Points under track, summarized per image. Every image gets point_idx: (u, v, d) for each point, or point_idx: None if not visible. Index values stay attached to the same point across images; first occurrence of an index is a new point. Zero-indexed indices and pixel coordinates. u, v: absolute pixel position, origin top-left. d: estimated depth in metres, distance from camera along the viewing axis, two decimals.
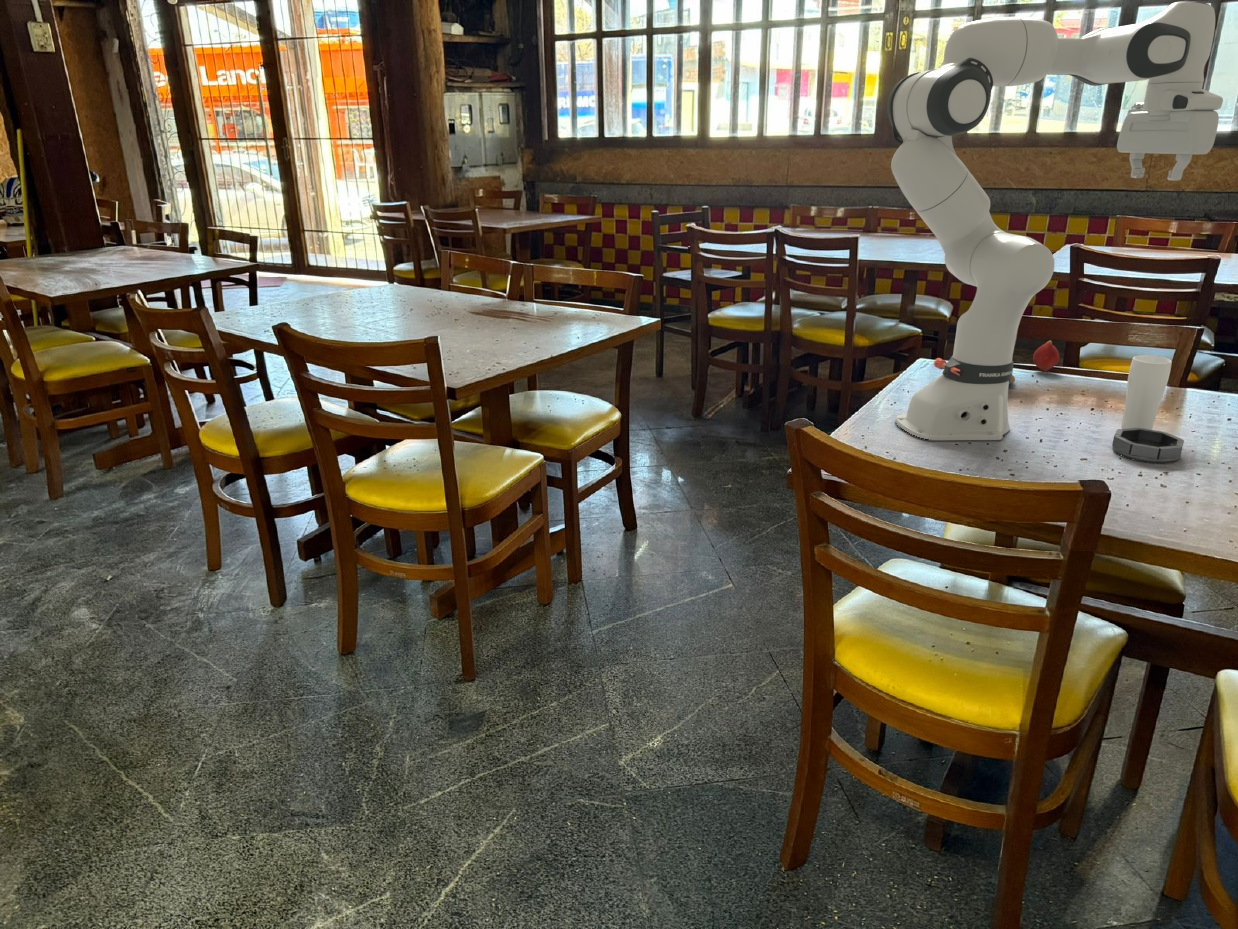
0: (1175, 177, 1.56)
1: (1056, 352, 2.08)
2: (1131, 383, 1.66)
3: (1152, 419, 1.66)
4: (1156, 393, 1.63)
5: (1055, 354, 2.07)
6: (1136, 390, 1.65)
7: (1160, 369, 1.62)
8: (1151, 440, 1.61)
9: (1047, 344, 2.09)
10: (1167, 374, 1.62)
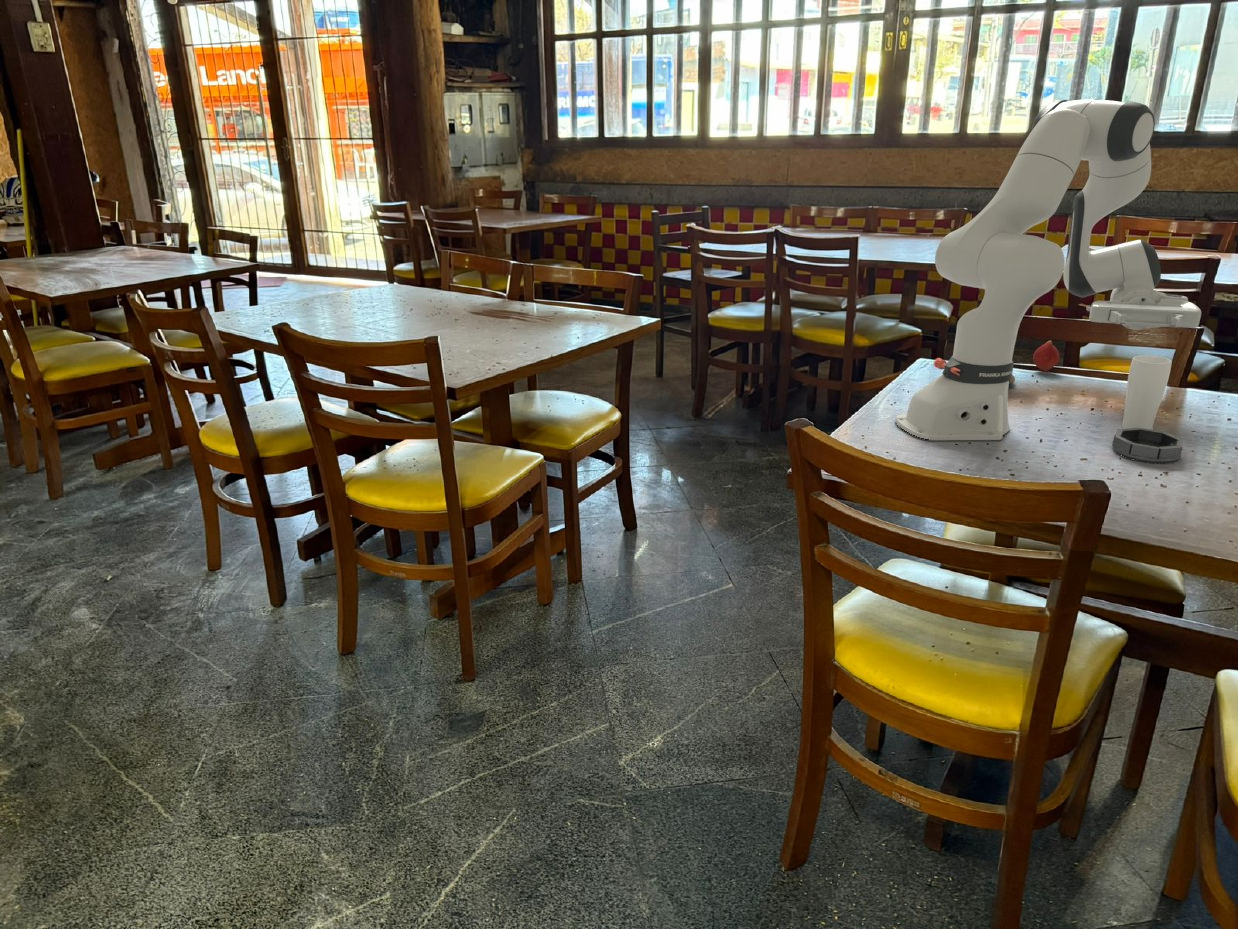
0: None
1: (1056, 352, 2.08)
2: (1131, 383, 1.66)
3: (1152, 419, 1.66)
4: (1156, 393, 1.63)
5: (1055, 354, 2.07)
6: (1136, 390, 1.65)
7: (1160, 369, 1.61)
8: (1151, 440, 1.61)
9: (1047, 344, 2.09)
10: (1167, 374, 1.62)
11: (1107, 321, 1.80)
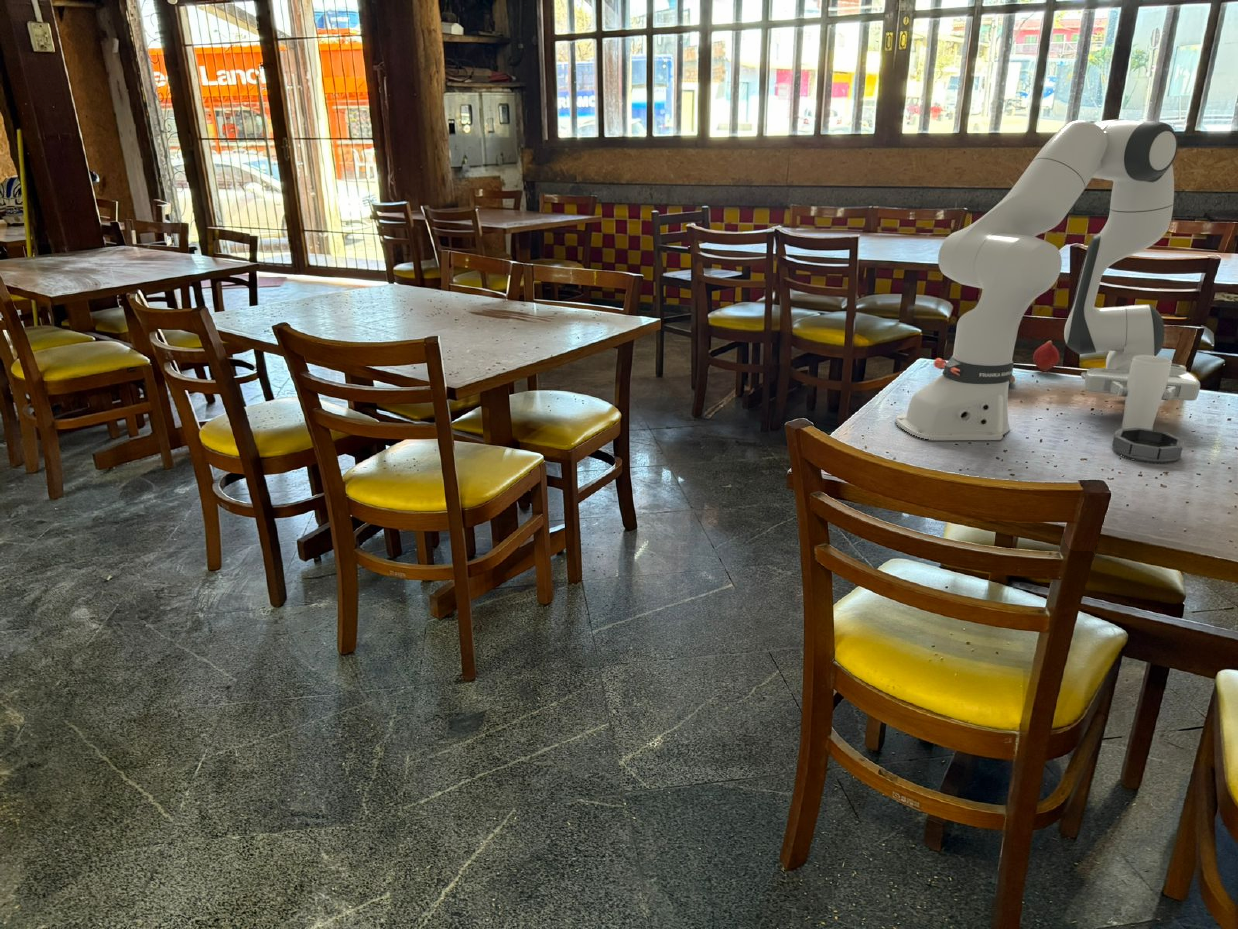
0: None
1: (1056, 352, 2.08)
2: (1131, 383, 1.66)
3: (1152, 419, 1.66)
4: (1156, 393, 1.63)
5: (1055, 354, 2.07)
6: (1136, 390, 1.65)
7: (1160, 369, 1.61)
8: (1151, 440, 1.61)
9: (1047, 344, 2.09)
10: (1167, 374, 1.62)
11: (1102, 391, 1.73)
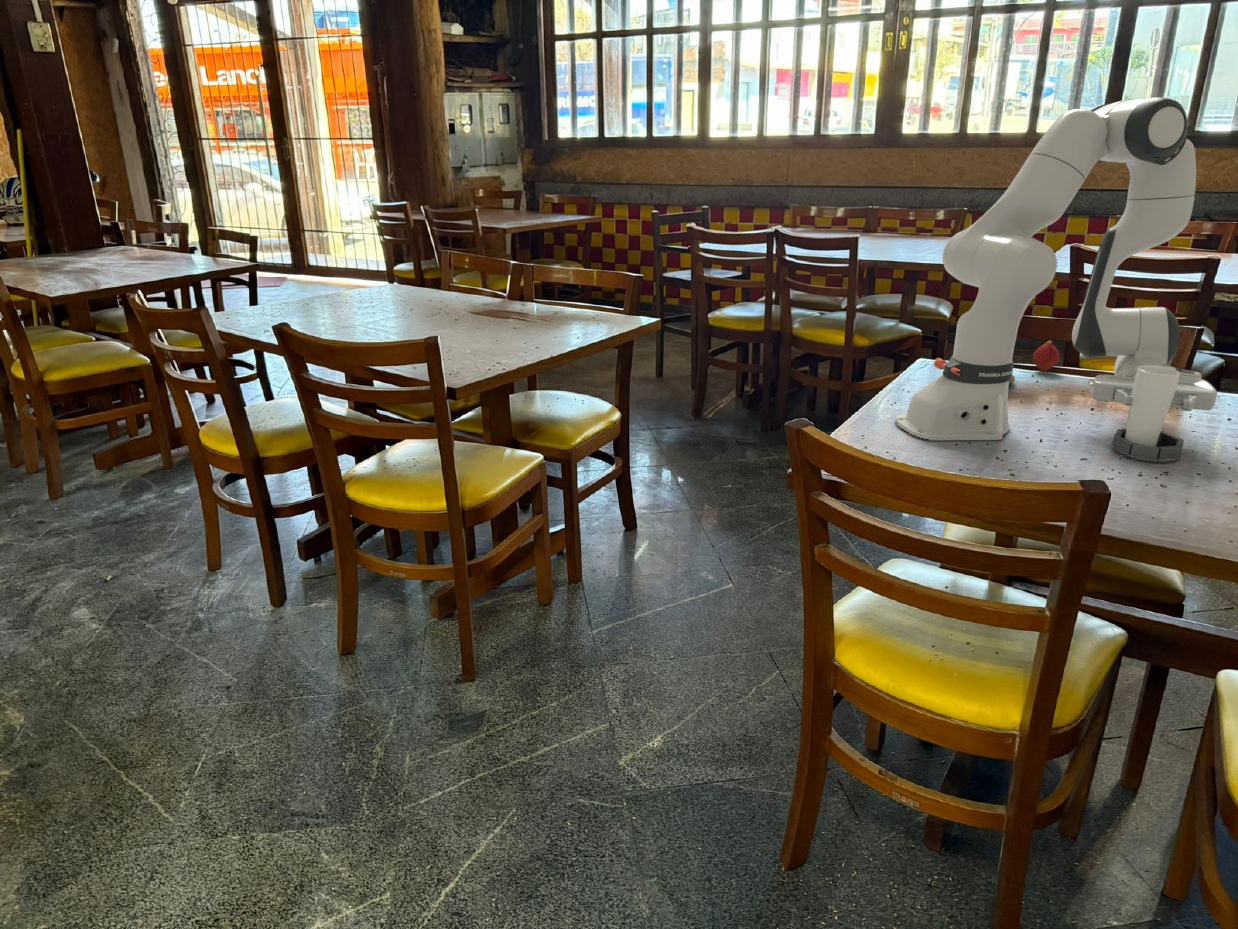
0: None
1: (1056, 352, 2.08)
2: (1136, 395, 1.55)
3: (1157, 434, 1.55)
4: (1162, 406, 1.52)
5: (1055, 354, 2.07)
6: (1140, 403, 1.54)
7: (1167, 381, 1.50)
8: None
9: (1047, 344, 2.09)
10: (1174, 386, 1.51)
11: (1111, 400, 1.61)
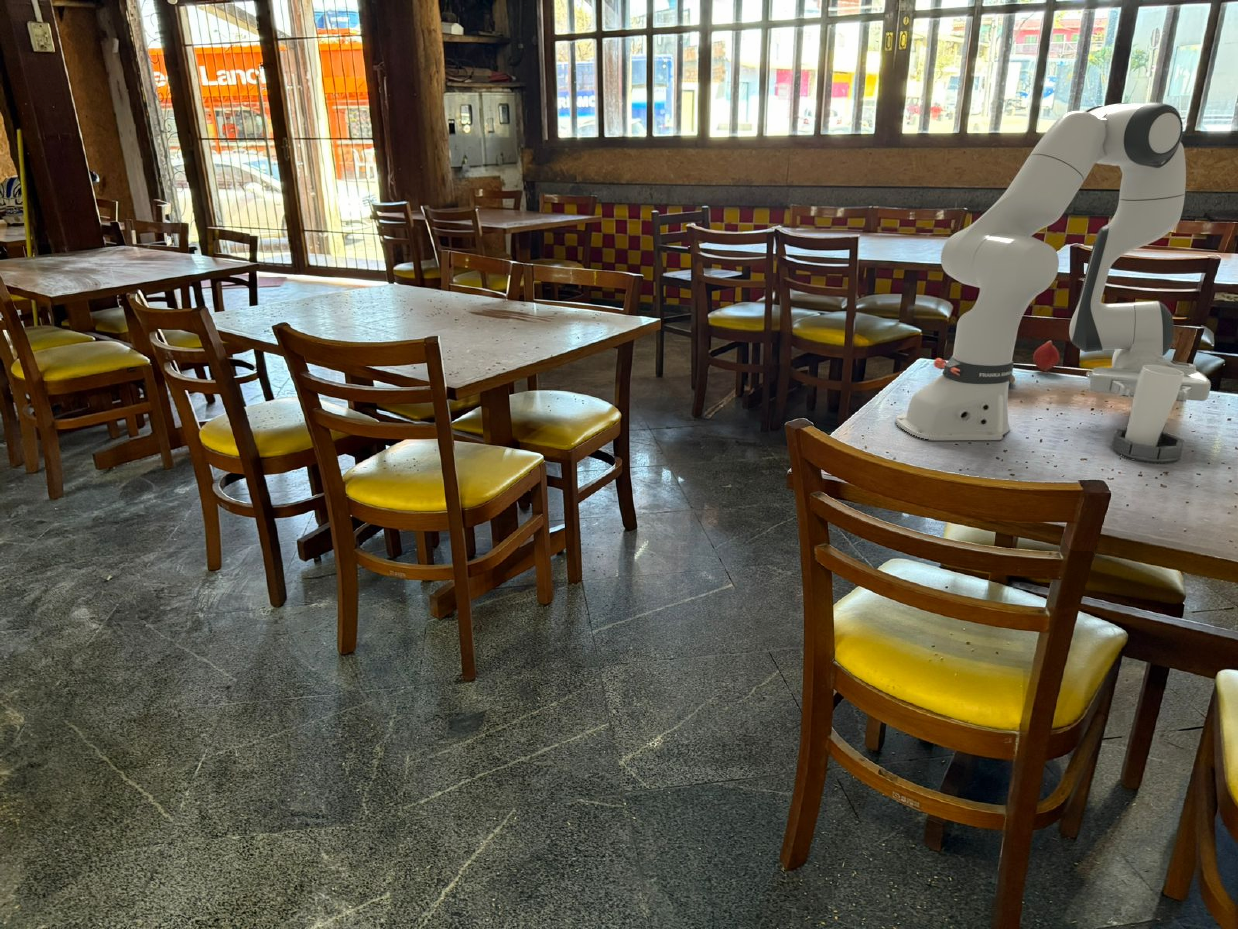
0: None
1: (1056, 352, 2.08)
2: (1139, 394, 1.54)
3: (1158, 434, 1.55)
4: (1165, 407, 1.52)
5: (1055, 354, 2.07)
6: (1143, 402, 1.54)
7: (1171, 381, 1.50)
8: None
9: (1047, 344, 2.09)
10: (1178, 387, 1.51)
11: (1108, 391, 1.66)
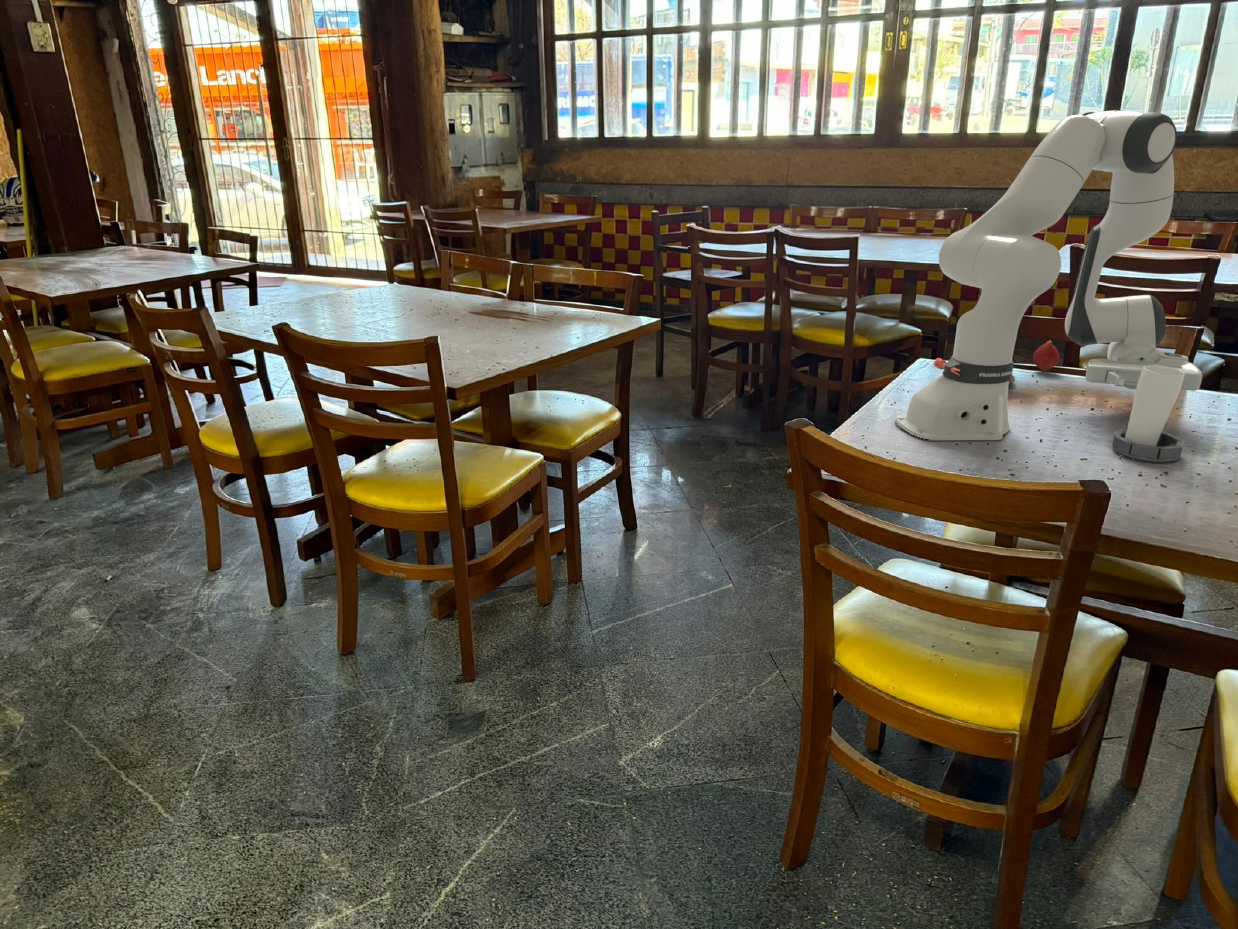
0: None
1: (1056, 352, 2.08)
2: (1140, 395, 1.54)
3: (1158, 434, 1.55)
4: (1166, 407, 1.52)
5: (1055, 354, 2.07)
6: (1144, 403, 1.53)
7: (1172, 381, 1.50)
8: None
9: (1047, 344, 2.09)
10: (1179, 387, 1.51)
11: (1104, 382, 1.72)
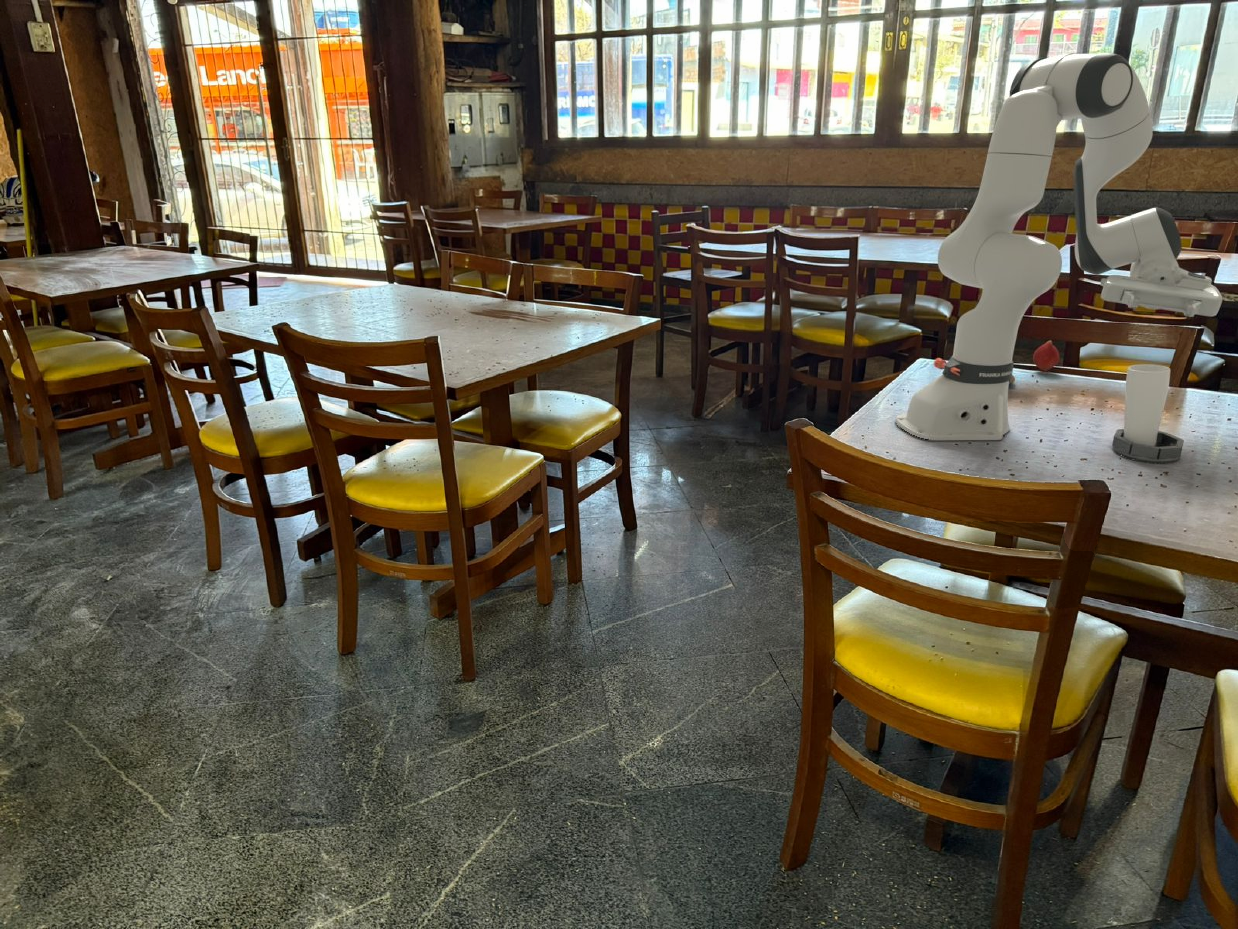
0: None
1: (1056, 352, 2.08)
2: (1130, 395, 1.55)
3: (1156, 431, 1.55)
4: (1158, 403, 1.53)
5: (1055, 354, 2.07)
6: (1136, 402, 1.54)
7: (1159, 377, 1.51)
8: None
9: (1047, 344, 2.09)
10: (1167, 382, 1.52)
11: (1119, 301, 1.66)
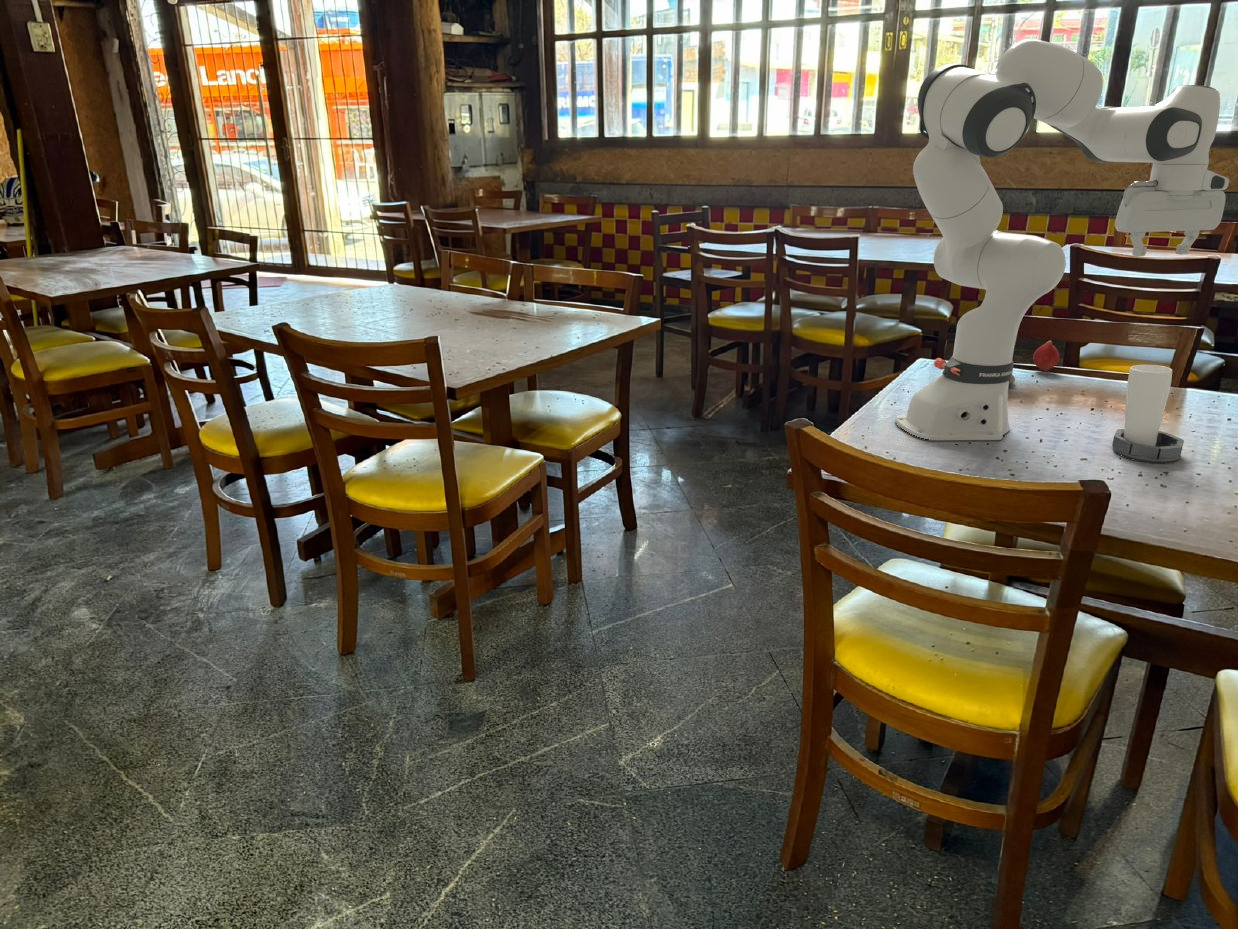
0: None
1: (1056, 352, 2.08)
2: (1132, 395, 1.55)
3: (1156, 432, 1.55)
4: (1160, 404, 1.53)
5: (1055, 354, 2.07)
6: (1138, 403, 1.54)
7: (1162, 378, 1.51)
8: None
9: (1047, 344, 2.09)
10: (1169, 383, 1.52)
11: None
